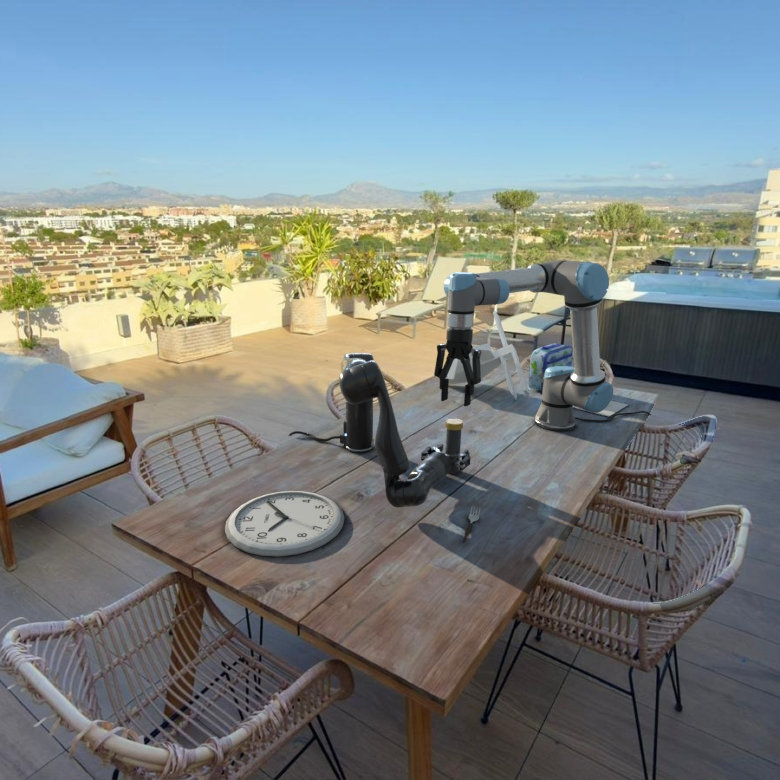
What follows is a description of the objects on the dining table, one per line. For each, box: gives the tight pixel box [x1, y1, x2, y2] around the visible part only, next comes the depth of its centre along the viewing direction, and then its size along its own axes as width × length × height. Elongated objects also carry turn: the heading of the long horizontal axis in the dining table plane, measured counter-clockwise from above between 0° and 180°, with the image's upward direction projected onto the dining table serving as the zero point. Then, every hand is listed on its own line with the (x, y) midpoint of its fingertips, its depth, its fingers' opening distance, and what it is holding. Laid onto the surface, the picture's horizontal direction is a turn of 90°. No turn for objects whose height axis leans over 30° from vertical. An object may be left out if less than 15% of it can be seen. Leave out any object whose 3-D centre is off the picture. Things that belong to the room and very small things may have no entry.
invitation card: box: [573, 400, 629, 418], centre depth 226 cm, size 21×1×15 cm
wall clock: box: [224, 490, 345, 557], centre depth 134 cm, size 30×2×30 cm
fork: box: [462, 505, 481, 543], centre depth 133 cm, size 3×16×2 cm, turn 160°
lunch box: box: [528, 343, 573, 392], centre depth 249 cm, size 26×11×21 cm, turn 134°
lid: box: [445, 418, 464, 431], centre depth 160 cm, size 5×5×2 cm
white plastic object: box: [447, 310, 531, 400], centre depth 245 cm, size 37×45×31 cm
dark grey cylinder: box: [445, 428, 462, 475], centre depth 162 cm, size 4×4×16 cm
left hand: (454, 449), depth 164 cm, fingers open, 8 cm apart
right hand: (455, 402), depth 158 cm, fingers open, 7 cm apart
